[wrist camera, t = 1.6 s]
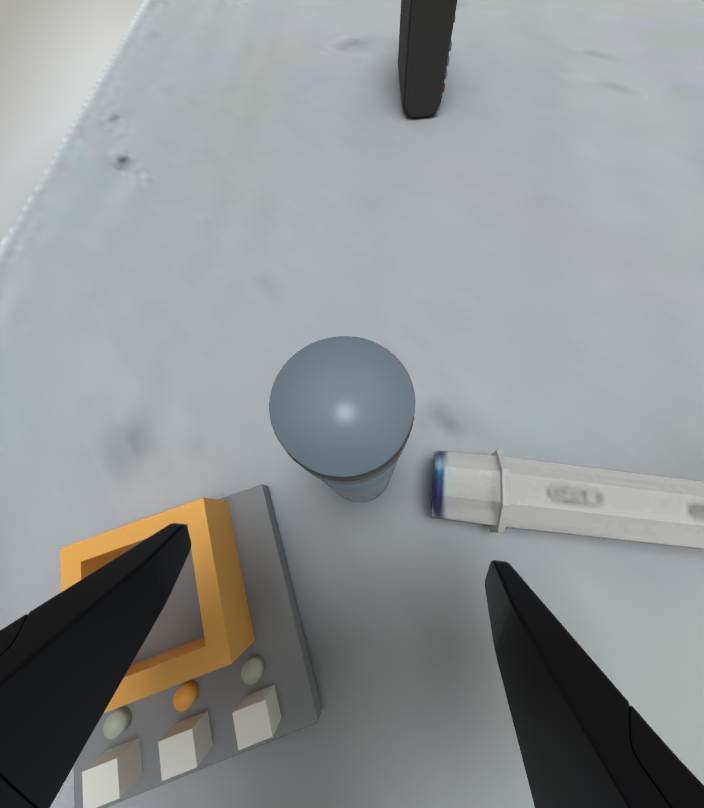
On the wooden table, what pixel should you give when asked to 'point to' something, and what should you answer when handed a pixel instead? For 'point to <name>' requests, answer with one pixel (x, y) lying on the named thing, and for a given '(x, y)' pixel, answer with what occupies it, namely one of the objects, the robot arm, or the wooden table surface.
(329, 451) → the plug
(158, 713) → the panel
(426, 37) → the black upright block
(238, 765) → the wooden table surface
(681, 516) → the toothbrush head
